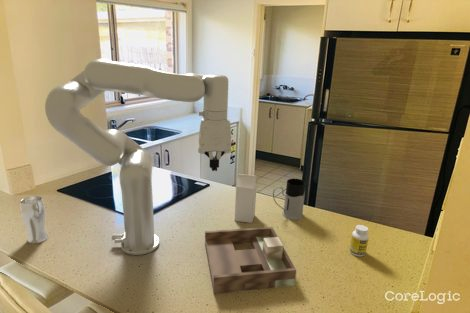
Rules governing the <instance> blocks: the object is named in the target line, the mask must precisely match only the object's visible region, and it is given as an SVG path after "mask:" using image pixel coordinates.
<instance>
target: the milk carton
mask: <svg viewBox="0 0 470 313" xmlns="http://www.w3.org/2000/svg"><path fill="white" fill-rule="evenodd" d="M257 188H258V180H257V175H253V174H243V173H238V175H237V180H236V186H235V205H234V206H235V207H234V208H235V209H234V221H235V222H241V223H242V222H243V223H249V224H252V223H253V221H254V218H255V215H256V203H257V202H256V201H257V200H256V199H257Z"/></svg>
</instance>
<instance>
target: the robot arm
mask: <svg viewBox="0 0 470 313" xmlns="http://www.w3.org/2000/svg"><path fill="white" fill-rule="evenodd" d="M105 92H114V93H123V94H131V95H139V96H145V97H148V98H155V99H156V98H157V99H162V100H167V101H174V102H185V103H194V102H198V101H200V100H201V99H202V98H203V109H202V110H199V111H198V116H199V117H202V118H201V120H200V123H199V125H200V126H199V131H198V134H199V135H198V145H199V146H198V149H197V152H198V154H203V155H205V156H206V157H207V158H208V159H209V168H210V169H211V171H212V172H218V168H220V160H221V157H223V156H224V155H225V154H230V153H231V152H232V150H231V149H232V127H231V120H230V119H228V106H229V105H228V103H229V102H228V101H229V78H228V77H227V75H223V74H200V73H195V72H188V73H184V74H181V73H172V72H165V71H163V70H158V69H155V68H152V67H150V66H148V65H143V64H136V63H127V62H120V61H114V60H110V59H108V58H98V59H93V60H90V61H89V62H88V63H87V64H86V65H85V68H84V70H83V71H80V73H79V74H77V75H76V76H74V77H73V78H71V79H70V80H68V81H66V82H65V83H64V82H63V83H61V84H59V85H57V86H55V87H54V88H52V89H51V90H50V92H49V93H48V94H47V97H46V100H45V104H44V106H45V108H44V109H45V115H46V118H47V121H48V122H49V123H50V126H52V128H53V129H54V130H55V131H57V132H58V133H59V134H60V135H62V136H63V137H64V138H66V139H67V140H68V141H70V142H72V143H73V144H74V145H75V146H77V147H78V148H79V149H81V150H82V151H83V152H85V153H86V154H87V155H89V157H91V158H92V159H94V160H95V161H96V162H98V163H99V164H101V165H103V166H107V167H112V166H115V165H116V164H119V165H120V166H121V167H120V169H119V170H120V171H119V175H118V176H119V186H120V192H121V202H122V210H123V223H124V232H122V233H114V234H111V241H114V242H113V243H114V244H119V243H120V247H121V250H122V252H124V253H125V254H128V255H133V256H142V255H145V254H149V253H152V252H153V251H155V250H156V249H157V248H158V247H159V245H160V238H159V236H157V234H155V225H154V224H155V223H154V222H155V220H154V203H153V202H154V201H153V198H154V197H153V196H154V195H153V185H152V184H153V182H152V177H153V176H152V175H153V166H154V164H153V162H154V161H153V158H152V155H151V154H150V153H149V152H148V151H147V150H146V149H145V148H143V146H141V145H140V144H138V143H137V142H136V141H134V140H133V139H132V138H131V137H130V136H128V135H127V134H125V132H123V131H121V130H118V129H116V128H108V129H103V128H102V127H101V126H99V125H98V124H97V123H96V122H95V121H93V120H92V119H90V118H88V117H86V115H83V114H82V112H81V110H82V109H83V108H85V107H86V106H87V105H89V104H90V103H92V102H93V101H95V99H97V98H98V97H100V95H102V94H103V93H105ZM213 152H215V155H214V154H213Z"/></svg>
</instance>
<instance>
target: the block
mask: <svg viewBox="0 0 470 313" xmlns="http://www.w3.org/2000/svg"><path fill="white" fill-rule="evenodd" d="M283 247H284V245H283V243H282V241H281V240H280V238H279V236H277V237H271V238H263V253H264V256H265V258H266V260H279V259H282V252H283Z"/></svg>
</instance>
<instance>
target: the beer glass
mask: <svg viewBox="0 0 470 313" xmlns="http://www.w3.org/2000/svg"><path fill="white" fill-rule="evenodd" d="M19 210H20V215H21V220H22V221H23V223H24V226H25V228H26V231H27V242H28V243H29V244H31V245H35V244H40V243H43V242H45V241H46V240H48V238H49V236H48V235H49V234H48V232H47V230H46V214H47V213H46V207H45V203H44V199H43V197H42V196H41V195H29V196H26V197H24V198H22V199H21V200H20V201H19Z"/></svg>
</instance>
